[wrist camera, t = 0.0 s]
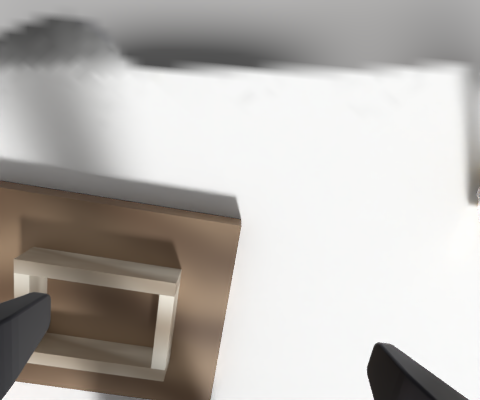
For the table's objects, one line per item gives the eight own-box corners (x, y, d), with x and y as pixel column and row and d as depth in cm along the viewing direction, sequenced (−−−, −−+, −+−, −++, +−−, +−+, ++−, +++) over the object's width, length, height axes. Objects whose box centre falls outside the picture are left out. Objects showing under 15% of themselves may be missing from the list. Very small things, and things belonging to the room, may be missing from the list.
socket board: (210, 392, 27) (206, 430, 24) (0, 363, 26) (-36, 399, 23) (241, 219, 23) (241, 236, 20) (-5, 179, 22) (-49, 190, 19)
